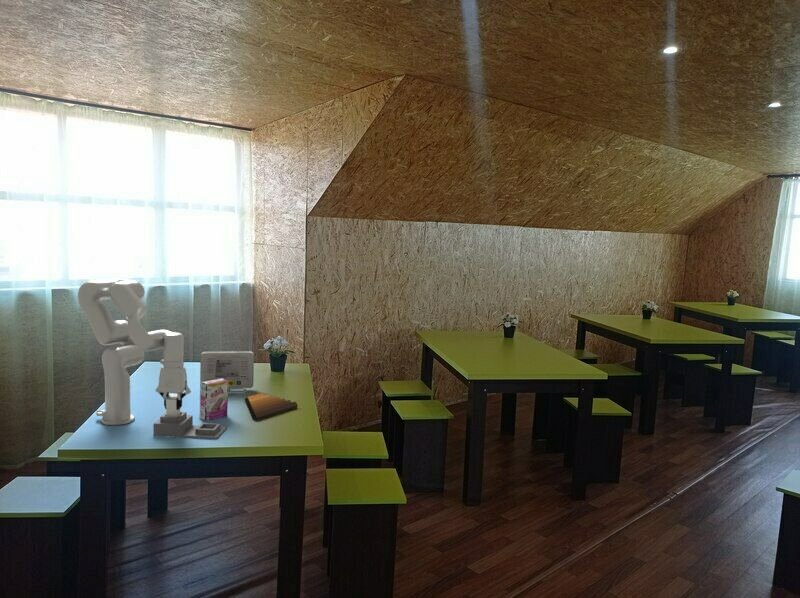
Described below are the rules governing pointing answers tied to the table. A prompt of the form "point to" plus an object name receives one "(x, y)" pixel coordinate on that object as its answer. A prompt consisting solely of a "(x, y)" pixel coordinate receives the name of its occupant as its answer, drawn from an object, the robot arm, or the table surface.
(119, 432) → the table surface
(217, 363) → the network device
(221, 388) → the candy bar box
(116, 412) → the robot arm
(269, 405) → the pan flute
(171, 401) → the plug
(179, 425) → the stepped socket base
